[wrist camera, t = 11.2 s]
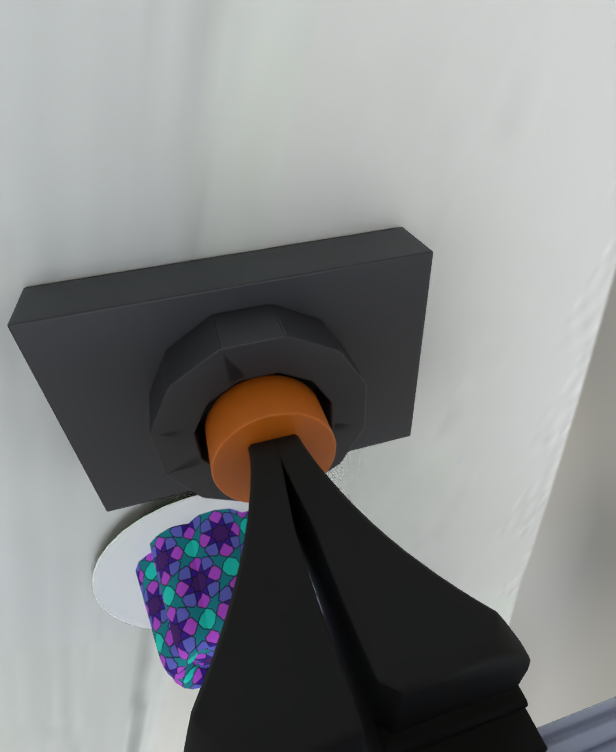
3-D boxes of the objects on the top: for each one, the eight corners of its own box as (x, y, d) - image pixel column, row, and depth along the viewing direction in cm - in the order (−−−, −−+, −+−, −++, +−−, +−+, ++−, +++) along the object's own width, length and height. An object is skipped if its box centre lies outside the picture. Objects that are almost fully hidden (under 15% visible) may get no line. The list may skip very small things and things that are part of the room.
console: (402, 226, 16) (465, 276, 13) (388, 402, 21) (431, 468, 18) (22, 287, 13) (-12, 365, 10) (109, 467, 18) (103, 556, 15)
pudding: (85, 485, 19) (70, 612, 15) (355, 467, 23) (400, 562, 19) (98, 633, 25) (90, 749, 21) (305, 599, 29) (331, 690, 25)
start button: (317, 363, 14) (336, 400, 12) (321, 447, 16) (337, 486, 14) (193, 389, 13) (199, 432, 12) (216, 473, 15) (222, 517, 14)
